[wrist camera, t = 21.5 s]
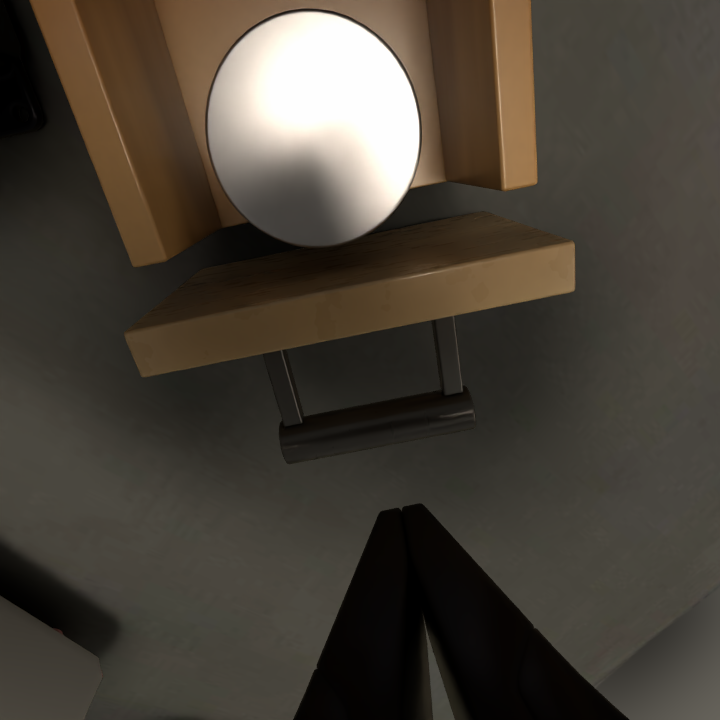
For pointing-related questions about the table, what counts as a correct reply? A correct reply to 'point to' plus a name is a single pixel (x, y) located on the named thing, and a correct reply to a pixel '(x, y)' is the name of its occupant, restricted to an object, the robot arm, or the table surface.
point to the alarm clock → (42, 670)
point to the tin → (313, 128)
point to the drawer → (312, 265)
